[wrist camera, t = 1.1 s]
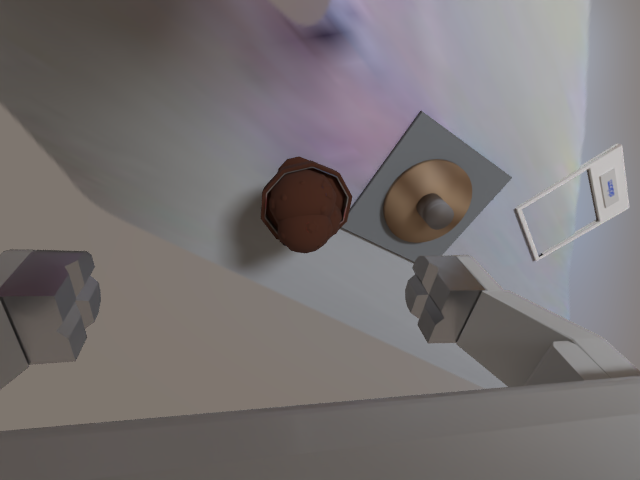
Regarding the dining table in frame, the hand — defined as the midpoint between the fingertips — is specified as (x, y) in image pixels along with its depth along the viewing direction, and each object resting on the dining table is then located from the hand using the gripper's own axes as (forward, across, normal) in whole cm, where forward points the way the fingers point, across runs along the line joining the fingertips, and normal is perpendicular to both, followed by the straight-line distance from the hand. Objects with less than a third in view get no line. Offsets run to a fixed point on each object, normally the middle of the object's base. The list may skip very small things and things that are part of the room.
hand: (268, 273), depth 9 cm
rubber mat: (+39, -28, +16) cm, 50 cm away
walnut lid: (+38, -28, +16) cm, 50 cm away
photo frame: (+40, -56, +15) cm, 71 cm away
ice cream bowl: (+39, -7, +13) cm, 42 cm away
